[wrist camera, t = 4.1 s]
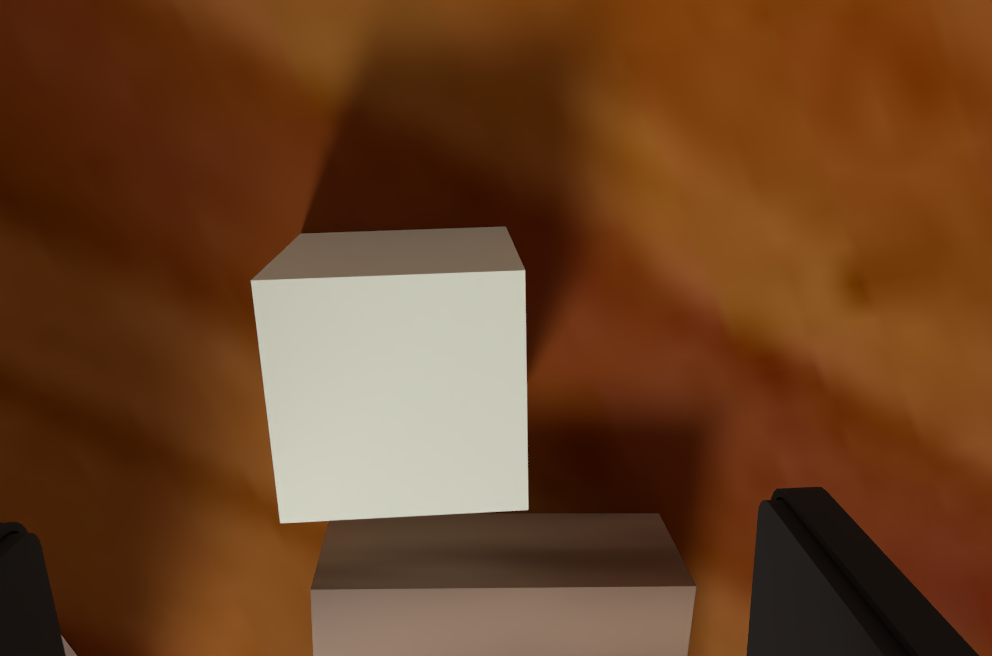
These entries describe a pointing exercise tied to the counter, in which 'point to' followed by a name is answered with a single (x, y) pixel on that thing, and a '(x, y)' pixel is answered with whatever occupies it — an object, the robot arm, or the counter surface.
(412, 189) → the counter surface
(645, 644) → the pinkish brown square block
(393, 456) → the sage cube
